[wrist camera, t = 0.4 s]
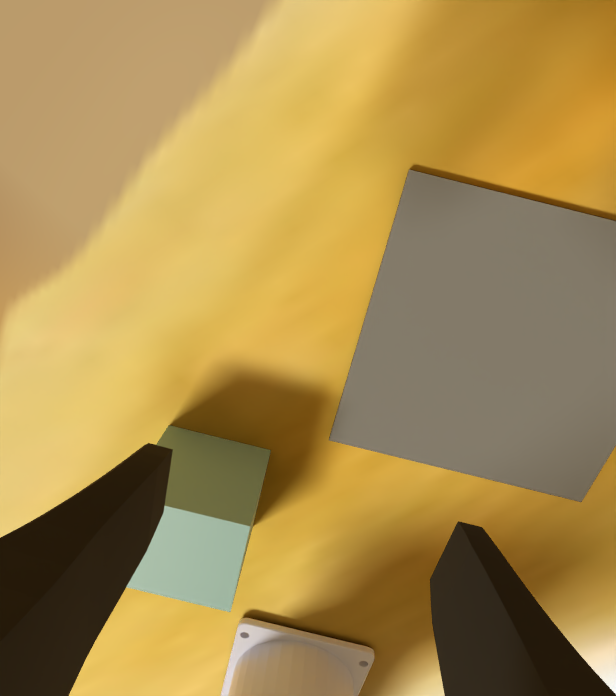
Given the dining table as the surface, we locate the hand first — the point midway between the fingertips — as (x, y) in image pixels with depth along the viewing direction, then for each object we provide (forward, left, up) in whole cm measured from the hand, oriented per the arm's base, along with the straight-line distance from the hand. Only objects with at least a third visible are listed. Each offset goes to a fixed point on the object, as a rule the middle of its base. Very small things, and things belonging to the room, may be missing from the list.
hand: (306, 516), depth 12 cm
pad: (+2, -7, -10) cm, 12 cm away
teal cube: (-8, +4, -10) cm, 13 cm away
